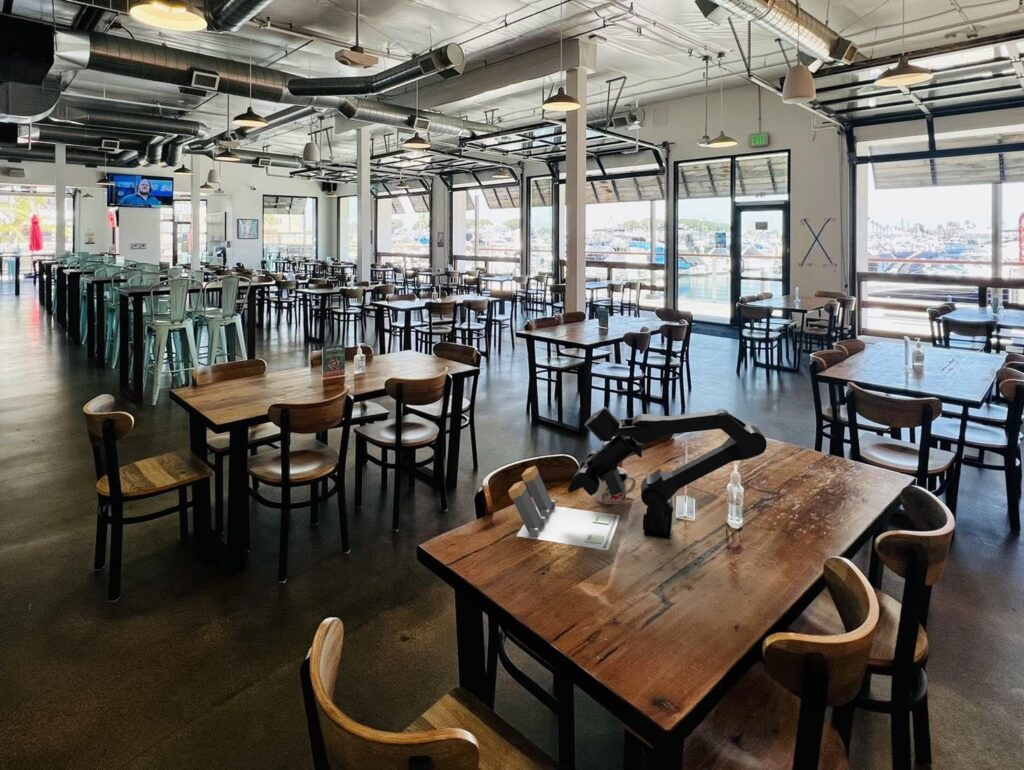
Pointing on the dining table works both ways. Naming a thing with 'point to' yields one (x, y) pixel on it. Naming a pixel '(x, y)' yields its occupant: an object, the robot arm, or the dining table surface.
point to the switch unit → (574, 527)
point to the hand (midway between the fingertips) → (569, 491)
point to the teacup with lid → (605, 496)
